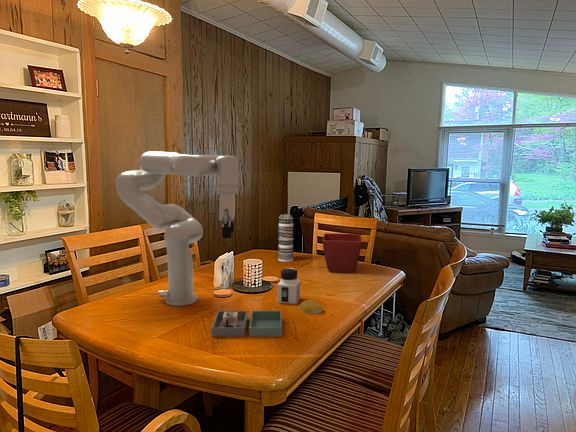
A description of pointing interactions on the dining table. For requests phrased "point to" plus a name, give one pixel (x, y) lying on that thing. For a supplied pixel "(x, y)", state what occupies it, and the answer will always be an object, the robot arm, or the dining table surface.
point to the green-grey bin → (265, 324)
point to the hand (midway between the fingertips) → (228, 235)
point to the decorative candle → (285, 238)
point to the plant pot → (342, 251)
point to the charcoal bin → (229, 331)
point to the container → (289, 287)
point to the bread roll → (310, 307)
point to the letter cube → (230, 319)
